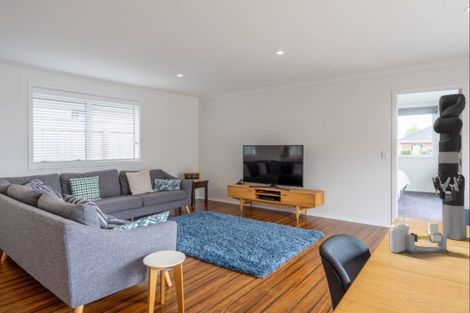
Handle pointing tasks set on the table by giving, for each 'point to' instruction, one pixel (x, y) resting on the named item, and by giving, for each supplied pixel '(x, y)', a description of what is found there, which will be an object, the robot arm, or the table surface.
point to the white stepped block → (434, 233)
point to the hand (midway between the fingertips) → (448, 199)
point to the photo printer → (397, 237)
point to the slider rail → (419, 250)
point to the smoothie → (406, 225)
